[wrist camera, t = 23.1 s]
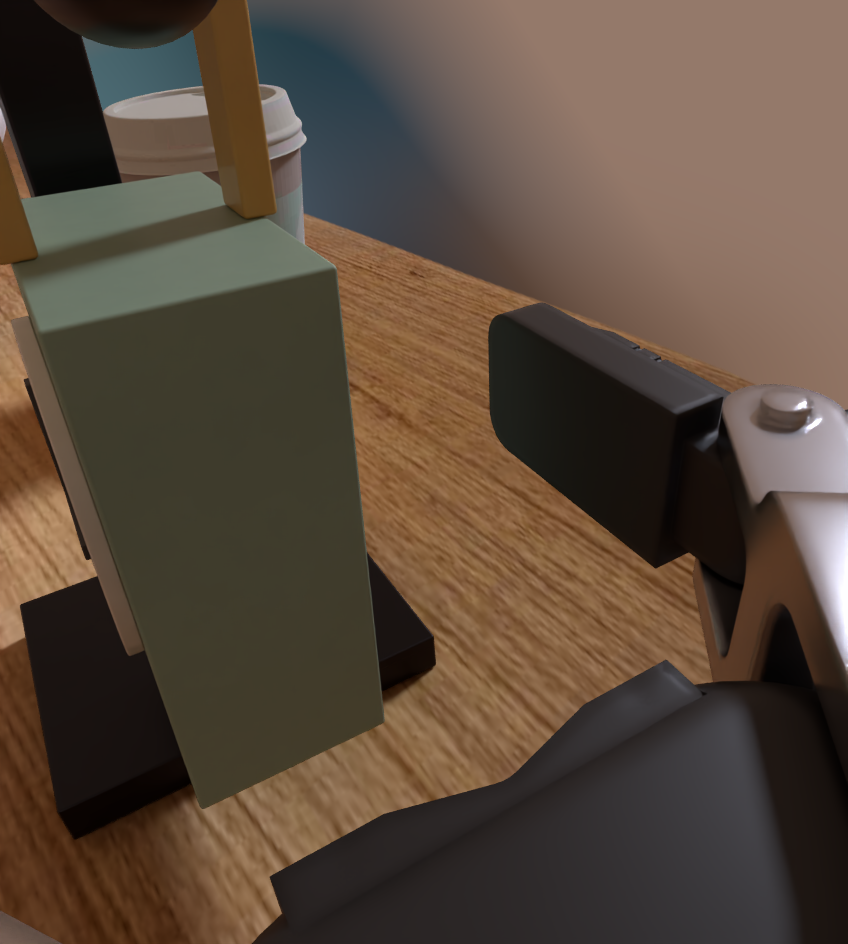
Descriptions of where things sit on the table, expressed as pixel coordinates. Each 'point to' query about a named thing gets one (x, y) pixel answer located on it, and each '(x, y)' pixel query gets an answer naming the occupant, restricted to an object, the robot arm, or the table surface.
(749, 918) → the robot arm
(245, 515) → the green box with handle
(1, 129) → the bowl
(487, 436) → the table surface
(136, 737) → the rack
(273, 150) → the coffee cup
